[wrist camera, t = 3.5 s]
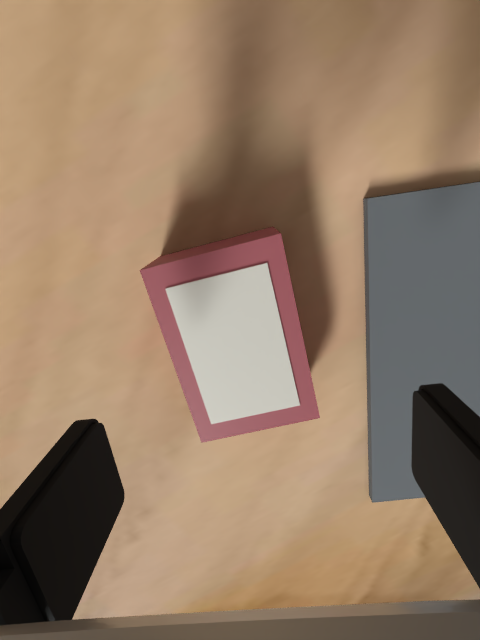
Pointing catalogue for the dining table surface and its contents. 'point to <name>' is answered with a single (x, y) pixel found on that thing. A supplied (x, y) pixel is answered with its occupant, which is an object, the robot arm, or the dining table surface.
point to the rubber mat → (418, 318)
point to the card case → (234, 334)
